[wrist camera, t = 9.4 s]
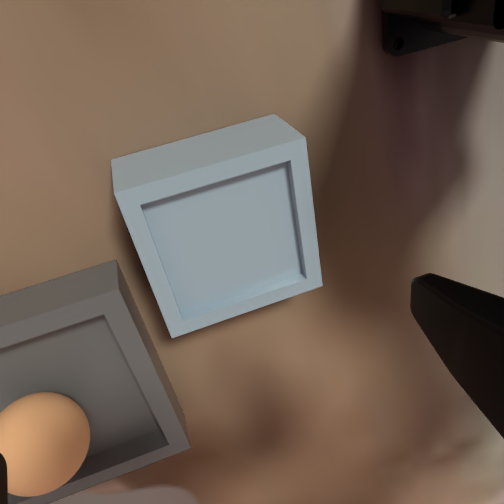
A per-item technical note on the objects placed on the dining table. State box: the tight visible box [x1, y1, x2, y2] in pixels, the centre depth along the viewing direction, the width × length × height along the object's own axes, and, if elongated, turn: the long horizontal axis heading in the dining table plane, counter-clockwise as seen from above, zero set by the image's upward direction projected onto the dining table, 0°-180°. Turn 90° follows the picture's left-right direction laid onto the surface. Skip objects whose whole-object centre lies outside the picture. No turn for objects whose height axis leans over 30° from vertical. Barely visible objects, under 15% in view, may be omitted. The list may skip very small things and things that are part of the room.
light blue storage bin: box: [111, 114, 323, 338], centre depth 19 cm, size 7×7×4 cm
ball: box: [0, 392, 90, 497], centre depth 20 cm, size 4×4×4 cm
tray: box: [0, 260, 191, 504], centre depth 22 cm, size 12×12×2 cm
